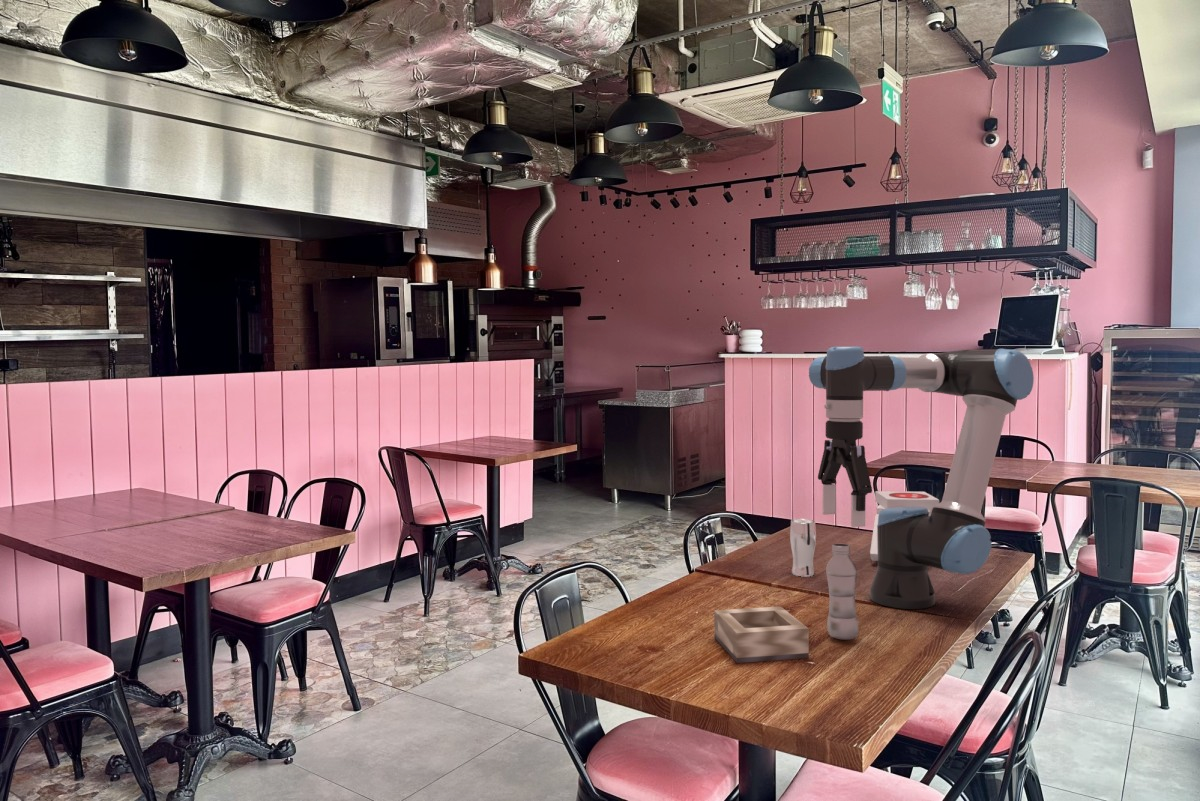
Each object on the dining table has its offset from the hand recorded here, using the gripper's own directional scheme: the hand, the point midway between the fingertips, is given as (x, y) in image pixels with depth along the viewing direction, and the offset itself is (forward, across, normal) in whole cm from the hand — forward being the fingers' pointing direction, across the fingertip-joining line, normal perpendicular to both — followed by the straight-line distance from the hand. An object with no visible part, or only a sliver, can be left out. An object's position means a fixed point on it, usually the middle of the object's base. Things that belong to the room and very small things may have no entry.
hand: (843, 520), depth 174 cm
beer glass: (+26, -52, +13) cm, 60 cm away
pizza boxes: (+26, -64, +50) cm, 85 cm away
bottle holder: (+26, +1, -19) cm, 32 cm away
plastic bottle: (+26, 0, 0) cm, 26 cm away
